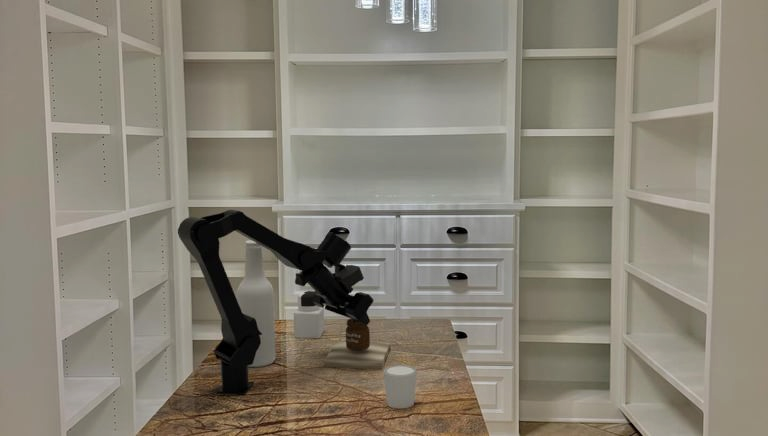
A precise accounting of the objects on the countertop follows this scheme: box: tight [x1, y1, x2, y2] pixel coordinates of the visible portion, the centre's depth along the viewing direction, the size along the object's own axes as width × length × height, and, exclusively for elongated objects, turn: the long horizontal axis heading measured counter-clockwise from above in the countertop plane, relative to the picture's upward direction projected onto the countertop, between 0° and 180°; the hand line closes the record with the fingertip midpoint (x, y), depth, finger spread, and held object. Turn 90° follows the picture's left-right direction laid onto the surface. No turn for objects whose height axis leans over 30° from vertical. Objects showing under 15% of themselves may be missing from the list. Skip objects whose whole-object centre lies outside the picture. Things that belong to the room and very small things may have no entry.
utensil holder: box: [345, 310, 371, 351], centre depth 166 cm, size 6×6×12 cm
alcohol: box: [236, 239, 277, 368], centre depth 162 cm, size 9×9×30 cm
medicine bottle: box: [293, 290, 325, 339], centre depth 186 cm, size 7×7×12 cm
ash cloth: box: [323, 340, 391, 370], centre depth 167 cm, size 16×14×2 cm
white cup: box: [383, 364, 418, 410], centre depth 137 cm, size 7×7×7 cm
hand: (361, 320), depth 166 cm, fingers closed on utensil holder, 5 cm apart
